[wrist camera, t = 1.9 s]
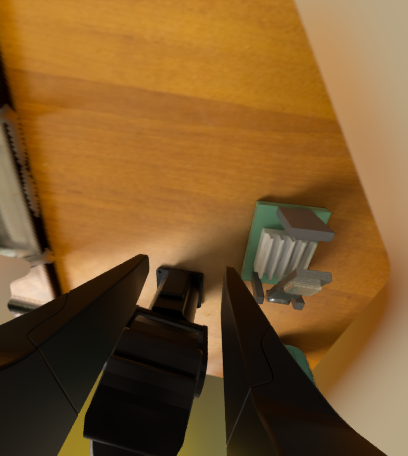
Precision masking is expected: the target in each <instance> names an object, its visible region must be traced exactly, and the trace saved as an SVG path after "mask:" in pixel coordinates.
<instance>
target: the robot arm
mask: <svg viewBox="0 0 408 456" xmlns="http://www.w3.org/2000/svg"><path fill="white" fill-rule="evenodd" d="M159 270H160V271H159ZM148 273H149V257H148V255H144V254H139V255H137V256H135V257H133V258H131V259H129V260H127V261H125V262H124V263H122V264H120V265H118V266H116V267H114V268H112V269H110V270H109V271H107V272H105V273H103V274H101V275H99V276H97V277H95V278H94V279H92V280H90V281H88V282H86V283H84V284H82V285H80V286H79V287H77V288H75V289H73V290H71V291H69V293H65V294H63V295H62V296H60V297H58V298H56V299H54V300H52V301H50V302H48V303H46V304H44V305H42V306H40V307H38V308H36V309H34V310H32V311H30V312H28V313H26V314H23V315H21V316H19V317H17V318H15V319H13V320H11V321H9V322H6V323H4V324H2V325H0V456H57V455H58V453H59V451H60V449H61V447H62V445H63V443H64V442H65V440H66V438H67V436H68V434H69V432H70V430H71V428H72V426H73V424H74V422H75V420H76V418H77V417H78V414H79V412H80V411H81V409H82V407H83V405H84V403H85V401H86V399H87V397H88V395H89V393H90V391H91V389H92V388H93V386H94V384H95V382H96V380H97V378H98V376H99V374H100V372H101V371H103V374H102V376H101V379H100V381H99V384H98V386H97V389H96V391H95V393H94V396H93V398H92V401H91V404H90V406H89V408H88V410H87V412H86V415H85V420H84V431H83V437H84V438H87V439H90V452H91V456H177V454H178V452H179V450H180V449H181V447H182V445H183V442H184V437H185V432H186V429H187V424H188V420H189V416H190V412H191V407H192V403H193V399H194V398H196V399H198V398H199V396H200V394H201V391H202V388H203V385H204V380H205V375H206V370H207V361H208V326H205V325H203V326H202V325H199V324H195V323H194V318H195V313H196V308H200V307H201V302H202V292H203V281H204V275H203V274H202V273H198V272H191V271H184V270H177V269H170V268H163V267H159V268H158V269H157V270H156V275H157V291H156V293H155V295H154V298H153V300H152V302H151V304H150V306H149V308H148V309H146V308H143V307H140V306H139V305H136V303H137V301H138V299H139V296H140V294H141V291H142V289H143V286H144V283H145V281H146V278H147V276H148ZM199 276H201V277H199ZM221 331H222V354H223V377H224V398H225V422H226V444H227V456H387V455H386V454H385V453H383V452H382V451H381V450H379V449H378V448H377V447H375V446H374V445H373V444H371V443H370V442H369V441H368V440H366V439H365V438H364V437H362V436H361V435H360V434H358V433H357V432H356V431H355V430H354V429H353V428H351V427H350V426H349V425H348V424H347V423H346V422H345V421H344V420H343V419H342V418H341V417H340V416H339V415H338V413H337V412H336V411H335V410H334V409H333V408H332V406H331V405H330V404H329V403H328V402H327V400H326V399H325V398H324V396H323V395H322V394H321V392H320V391H319V390H318V389H317V388H316V386H315V385H314V383H313V382H312V381H311V380H310V378H309V377H308V376H307V374H306V373H305V372H304V370H303V369H302V368H301V367H300V365H299V364H298V363H297V361H296V360H295V359H294V357H293V356H292V355H291V353H290V352H289V351H288V349H287V348H286V347H285V345H284V344H283V342H282V341H281V339H280V338H279V336H278V335H277V333H276V332H275V330H274V328H273V327H272V326H271V324H270V322H269V321H268V319H267V318H266V316H265V314H264V313H263V311H262V310H261V308H260V307H259V305H258V304H257V302H256V300H255V299H254V297H253V296H252V294H251V293H250V291H249V289H248V288H247V286H246V285H245V283H244V282H243V280H242V278H241V277H240V275H239V274H238V272H237V271H236V269H235V268H234V267H230V266H226V267H225V273H224V279H223V289H222V302H221Z"/></svg>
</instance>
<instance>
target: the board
mask: <svg viewBox="0 0 408 456" xmlns="http://www.w3.org/2000/svg"><path fill="white" fill-rule="evenodd" d="M331 213H332V212H330V211H329V210H328V209H326V208H320V207H311V206H302V205H293V204H284V203H275V202H266V201H257V202H256V206H255V211H254V215H253V220H252V225H251V229H250V234H249V238H248V243H247V247H246V252H245V256H244V261H243V265H242V270H241V278H242V280H247V281H252V288H253V295H254V299H255V300H256V302H257V304H263V301H264V298H265V297H264V292H263V288H262V283H268V284H275V285H276V284H277V283H278V282H280V281H281V280H282V279H283V278H285V277H286V276H287V275H288V274H289V273H291V272H292V271H293V270H294V269H296V268H299V269H307V268H308V266H309V263H310V261H311V259H312V257H313V254H314V252H315V250H316V247H317V245H318V243H319V241H327V242H331V241H332V239H333V237H334V235H335V232H334V231H333V230H332V229H331V228H330V227H329V226H327V225H326V224H327V222H328V220H329V218H330V215H331ZM291 303H292V306H293V308H294V309H297V310H302V309H303V307H304V305H305V303H304V300H303V298H302V296H300V297H298V298H296V299H294V300H292V301H291Z"/></svg>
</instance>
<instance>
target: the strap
mask: <svg viewBox="0 0 408 456" xmlns="http://www.w3.org/2000/svg"><path fill="white" fill-rule="evenodd" d="M331 281H332V277H331V273H329V272H321V271H314V270H307V269H299V268H296V269H294V270H293V271H292V272H291V273H289V274H288V275H287V276H286V277H285V278H283V279H282V280H281V281H280V282H278V283H277V284H276V285H275V286H274V287H272V288H271V289H270V290H266V294H265V298H266V301H267V302H273V303H279V304H286V305H289V304H290V301H292V300H294V299H296V298H298V297H300V296H302V295H304V296H310V295H312V294H315V293H317V292H319V291H321V290H322V288H321V286H323V285H325V284H327V283H329V282H331Z"/></svg>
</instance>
